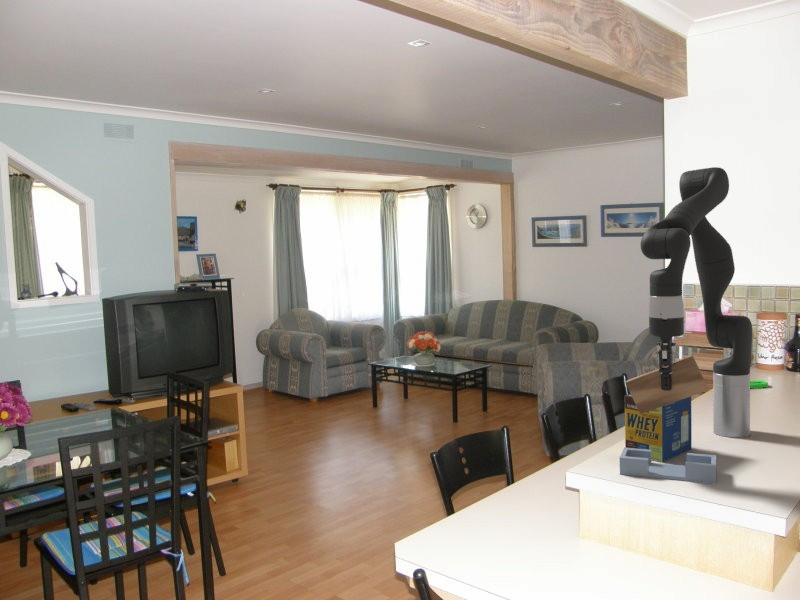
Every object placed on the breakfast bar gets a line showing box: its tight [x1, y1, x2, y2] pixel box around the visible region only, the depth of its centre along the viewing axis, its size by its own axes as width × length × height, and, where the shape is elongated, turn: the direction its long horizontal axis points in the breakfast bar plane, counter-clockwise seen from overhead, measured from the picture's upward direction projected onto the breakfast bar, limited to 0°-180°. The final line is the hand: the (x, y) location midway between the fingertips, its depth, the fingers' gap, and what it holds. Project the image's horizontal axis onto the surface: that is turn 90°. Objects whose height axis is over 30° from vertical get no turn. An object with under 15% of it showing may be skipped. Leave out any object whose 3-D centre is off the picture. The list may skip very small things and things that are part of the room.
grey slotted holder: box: [619, 447, 717, 484], centre depth 159 cm, size 8×21×4 cm, turn 65°
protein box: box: [624, 393, 693, 463], centre depth 175 cm, size 10×15×16 cm
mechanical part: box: [750, 379, 769, 389], centre depth 246 cm, size 12×6×8 cm, turn 92°
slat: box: [625, 355, 709, 414], centre depth 158 cm, size 3×16×8 cm, turn 65°
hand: (666, 388), depth 158 cm, fingers closed on slat, 3 cm apart
